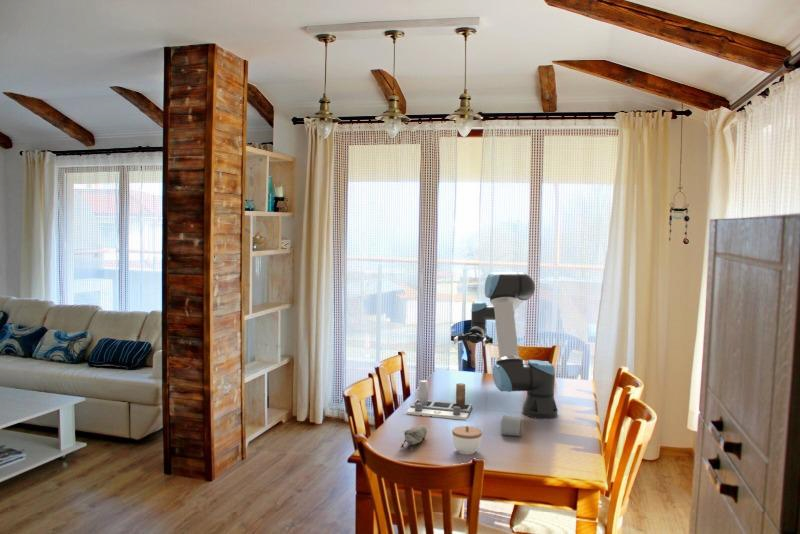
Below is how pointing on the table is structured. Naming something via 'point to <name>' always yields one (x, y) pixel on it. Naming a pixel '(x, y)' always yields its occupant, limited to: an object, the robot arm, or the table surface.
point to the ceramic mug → (511, 425)
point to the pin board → (431, 404)
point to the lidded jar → (467, 439)
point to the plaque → (438, 412)
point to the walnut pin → (460, 395)
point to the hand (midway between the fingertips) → (469, 342)
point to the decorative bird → (414, 435)
